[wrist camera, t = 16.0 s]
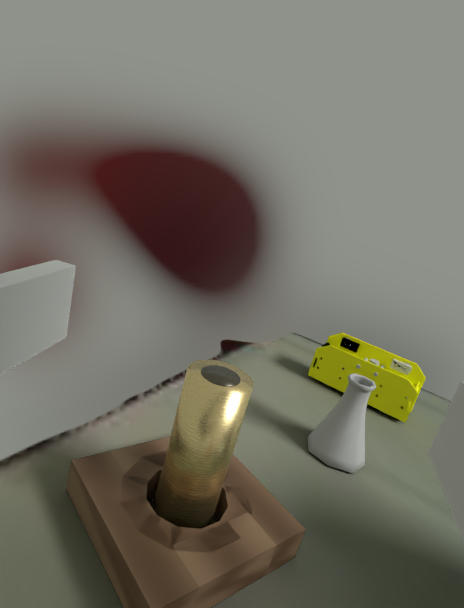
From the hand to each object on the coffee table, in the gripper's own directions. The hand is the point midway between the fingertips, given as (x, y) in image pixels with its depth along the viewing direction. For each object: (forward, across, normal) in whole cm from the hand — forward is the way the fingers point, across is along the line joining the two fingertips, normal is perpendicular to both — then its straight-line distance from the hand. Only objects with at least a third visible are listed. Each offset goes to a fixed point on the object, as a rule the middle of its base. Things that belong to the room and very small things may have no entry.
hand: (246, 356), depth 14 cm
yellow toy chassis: (+52, +15, -24) cm, 59 cm away
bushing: (+15, -3, -23) cm, 27 cm away
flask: (+33, +11, -23) cm, 42 cm away
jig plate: (+15, -3, -23) cm, 27 cm away
